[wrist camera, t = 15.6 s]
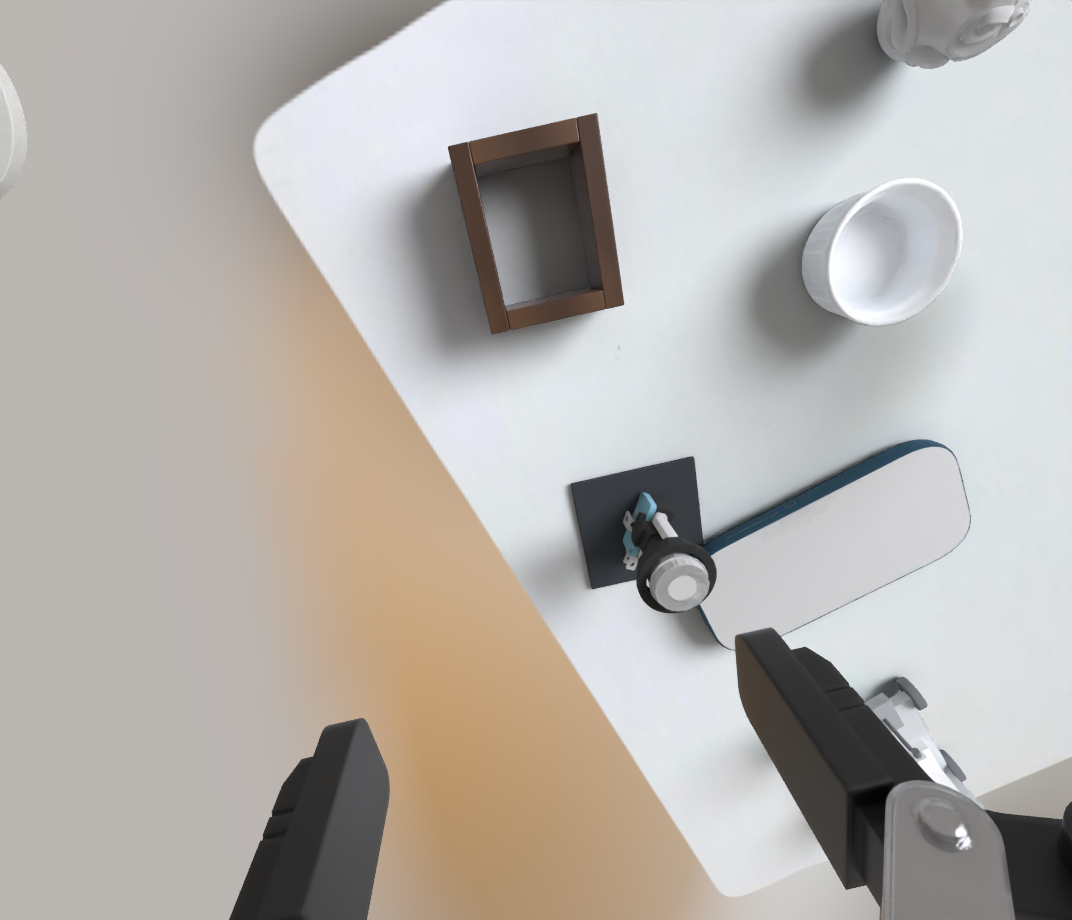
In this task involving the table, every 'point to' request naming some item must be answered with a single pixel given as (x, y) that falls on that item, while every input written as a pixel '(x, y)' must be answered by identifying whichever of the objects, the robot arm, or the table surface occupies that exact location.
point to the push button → (665, 558)
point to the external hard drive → (837, 542)
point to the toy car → (918, 735)
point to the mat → (619, 493)
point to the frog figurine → (945, 28)
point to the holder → (593, 207)
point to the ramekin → (884, 252)
